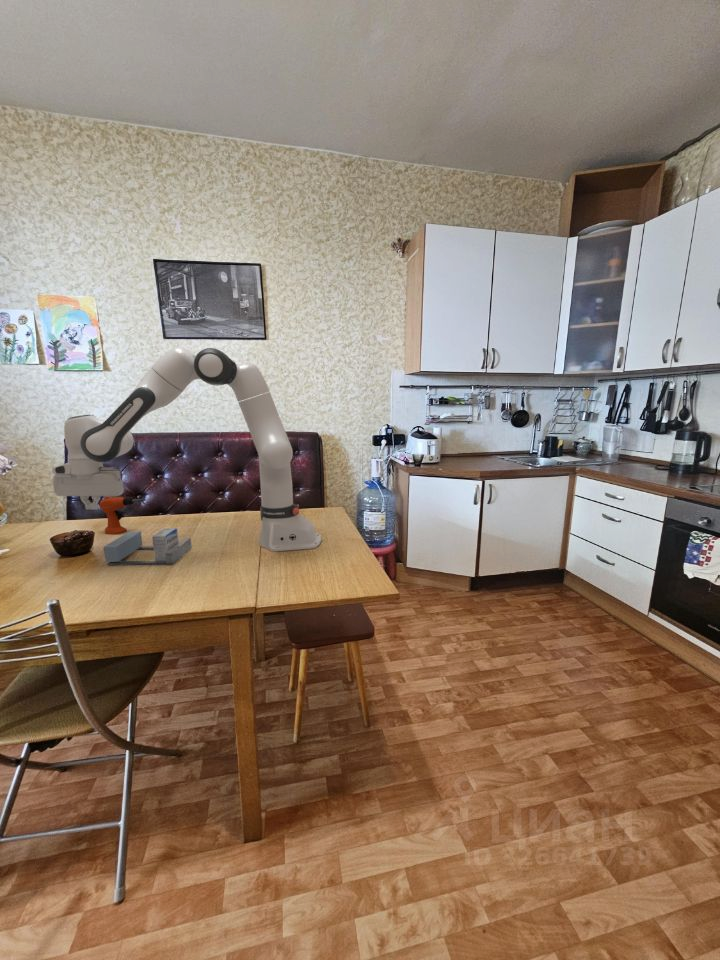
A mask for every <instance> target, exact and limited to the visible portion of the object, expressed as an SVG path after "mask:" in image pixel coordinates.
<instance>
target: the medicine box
mask: <svg viewBox="0 0 720 960" xmlns="http://www.w3.org/2000/svg"><path fill="white" fill-rule="evenodd" d="M151 538H152V546H153V547H154V550H153V554H154V561H166V556H165V553H166V552H167V551H169V550H170V549H171V548H172V547H174V546H175V545H176V544H177V543H179V542H180V541H179V535H178V528H177V527H176V528H174V527H171V528H170V527H167V528H164V529H162V530H160V531H159V532H157V533H156V534H153V535H152V536H151Z"/></svg>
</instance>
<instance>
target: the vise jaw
mask: <svg viewBox="0 0 720 960" xmlns="http://www.w3.org/2000/svg"><path fill="white" fill-rule="evenodd" d="M141 546H143V539H142V531H128V532H125V533H124V534H122V536H120V537H118V538H116V539H114V540H112V541H111V542H109V543H107V544H106V545H104V546H103V553H104V560H105V563H108V562H119V561H123V559H125V558H126V557H128V556H129V555H131V554H132V553H134V552H135V551H137V550H136V549H138V548H139V547H141Z"/></svg>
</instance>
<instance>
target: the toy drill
mask: <svg viewBox="0 0 720 960" xmlns="http://www.w3.org/2000/svg"><path fill="white" fill-rule="evenodd" d="M145 501H146V498H138V499H137V498H135V499H134V498H133V497H123V496H104V497H103V498H102V499H101V500H100V501H99V502H98V503H99V504H98V507H99V508H100V510H101V511H103V512H104V513H105V514H106V517H107V526H106V527H105V529H104V533H105V534H106V535H122V534H125V533H127V528H126V527H124V526H121V522H120V520H121V519H123V515H121V514H120V512H119V511H117V510H120V509H123V508H124V507H127V506H130V505H133V504H134V503H138V502H145ZM124 532H125V533H124ZM121 533H122V534H121Z"/></svg>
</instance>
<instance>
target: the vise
mask: <svg viewBox="0 0 720 960" xmlns="http://www.w3.org/2000/svg"><path fill="white" fill-rule="evenodd" d="M178 542H179V543H177V544H176V545H175V546H174V547H172V548H171V549H170V550H169V551H167V552H166V553H165V556H166V561H155V560H120V561H119V562H106V563H107V566H174V565H175V564H176V563H177V562H178V561H179V560H180V559H182V558H183V557H184V556H185V555H186V554H188V552H189V551H191V550H192V549H191V548H192V539H191V537H184V538H183V539H181V540H180V541H178ZM135 551H154V547H153V545H151V546H145V545H144V546H143V545H142V546H141V547H139V548H138V549H136V550H135ZM185 553H186V554H185ZM184 554H185V555H184ZM183 555H184V556H183ZM182 556H183V557H182Z"/></svg>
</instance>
